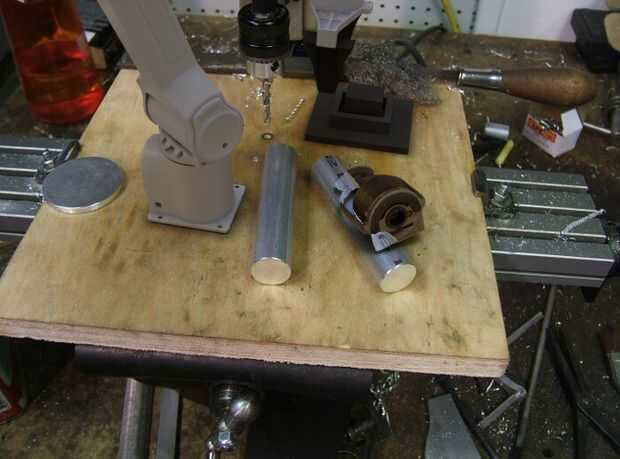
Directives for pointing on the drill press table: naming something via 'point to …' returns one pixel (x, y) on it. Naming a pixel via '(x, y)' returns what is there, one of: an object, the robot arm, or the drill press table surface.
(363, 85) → the dark brown block
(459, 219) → the drill press table surface
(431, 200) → the drill press table surface
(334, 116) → the base pad
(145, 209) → the drill press table surface
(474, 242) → the drill press table surface
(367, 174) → the brown bearing housing
